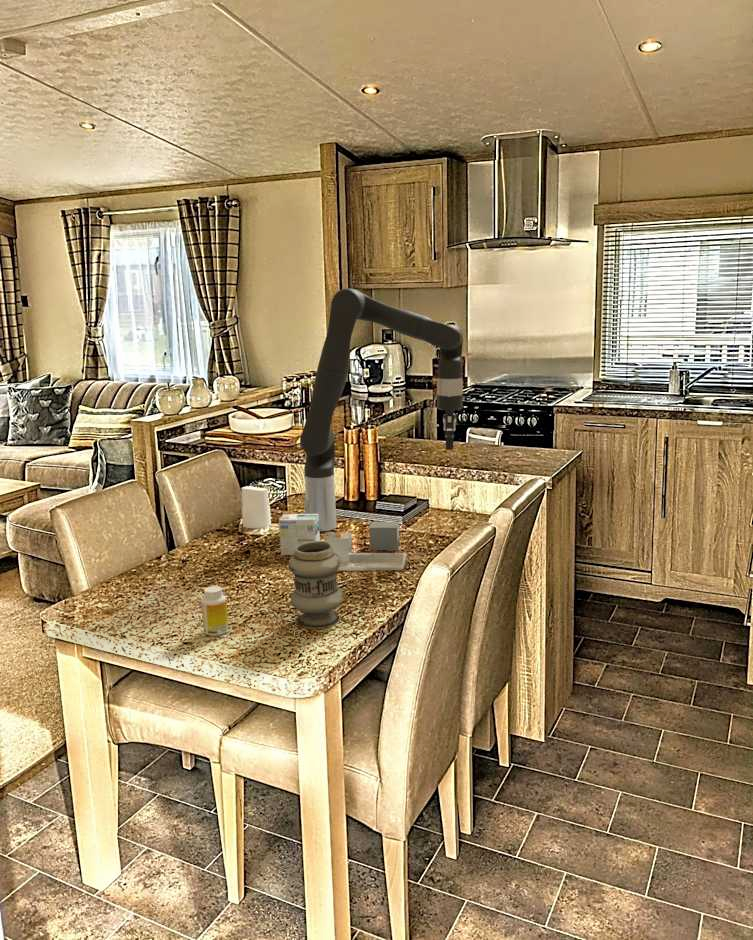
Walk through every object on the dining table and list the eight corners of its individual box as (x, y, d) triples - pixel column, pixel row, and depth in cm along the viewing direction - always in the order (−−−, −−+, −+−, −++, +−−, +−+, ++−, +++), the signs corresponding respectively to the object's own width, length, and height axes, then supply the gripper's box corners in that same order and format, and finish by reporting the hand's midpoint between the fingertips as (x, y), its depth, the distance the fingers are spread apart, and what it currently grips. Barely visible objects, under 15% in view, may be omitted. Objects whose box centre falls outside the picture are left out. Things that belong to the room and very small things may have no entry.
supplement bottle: (233, 631, 192) (230, 588, 190) (213, 639, 188) (210, 595, 186) (218, 624, 196) (215, 582, 193) (198, 632, 192) (195, 589, 189)
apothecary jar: (281, 621, 196) (276, 547, 192) (320, 606, 204) (317, 534, 200) (315, 636, 188) (311, 558, 184) (355, 619, 196) (351, 545, 192)
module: (369, 551, 245) (369, 527, 243) (372, 544, 251) (371, 521, 249) (397, 551, 244) (396, 527, 242) (399, 544, 250) (398, 521, 248)
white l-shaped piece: (322, 570, 230) (320, 540, 228) (329, 556, 241) (327, 527, 239) (403, 571, 227) (402, 540, 225) (406, 556, 239) (405, 527, 237)
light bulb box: (320, 548, 249) (319, 512, 246) (317, 555, 242) (315, 519, 240) (285, 548, 250) (282, 513, 248) (280, 555, 243) (278, 519, 241)
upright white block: (276, 522, 277) (274, 486, 274) (258, 529, 269) (256, 493, 267) (255, 519, 282) (252, 484, 279) (237, 526, 274) (234, 490, 271)
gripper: (437, 389, 259) (437, 442, 263) (436, 396, 246) (436, 451, 249) (462, 389, 259) (462, 442, 262) (462, 396, 245) (462, 451, 249)
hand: (449, 446), depth 256 cm, fingers open, 8 cm apart
